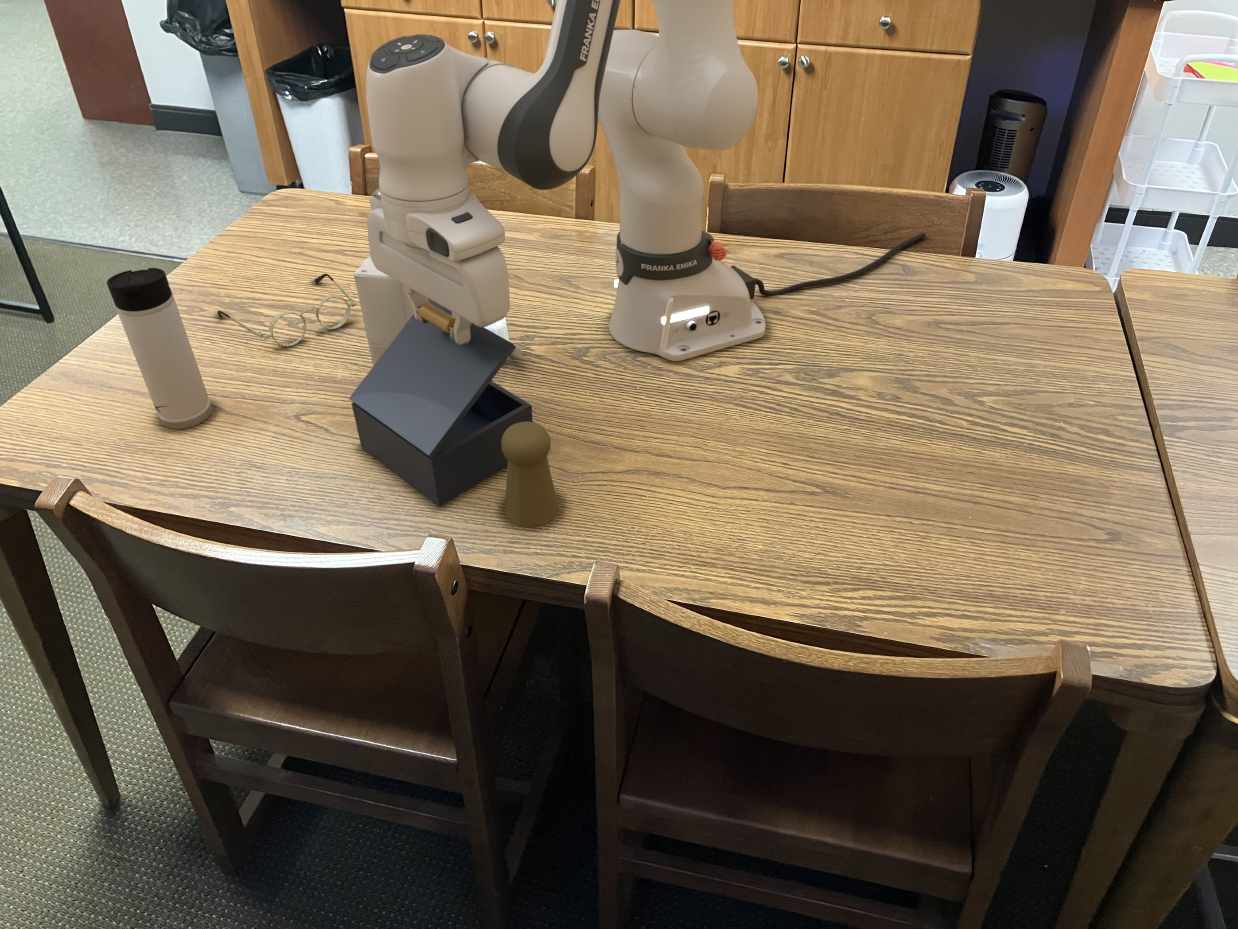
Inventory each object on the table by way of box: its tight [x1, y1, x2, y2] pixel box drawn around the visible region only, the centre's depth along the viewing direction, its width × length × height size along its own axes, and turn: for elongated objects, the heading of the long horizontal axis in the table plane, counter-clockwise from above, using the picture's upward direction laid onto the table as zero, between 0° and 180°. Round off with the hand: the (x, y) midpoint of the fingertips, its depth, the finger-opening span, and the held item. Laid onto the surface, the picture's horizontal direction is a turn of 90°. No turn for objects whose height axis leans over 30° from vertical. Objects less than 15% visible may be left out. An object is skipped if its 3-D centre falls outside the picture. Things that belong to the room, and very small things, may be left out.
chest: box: [351, 380, 534, 508], centre depth 110 cm, size 14×15×7 cm
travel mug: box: [106, 267, 213, 430], centre depth 112 cm, size 6×7×20 cm
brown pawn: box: [501, 421, 559, 528], centre depth 100 cm, size 6×6×11 cm
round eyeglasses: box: [217, 272, 358, 347], centre depth 135 cm, size 17×15×5 cm
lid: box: [348, 298, 517, 459], centre depth 103 cm, size 15×15×5 cm
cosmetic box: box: [353, 256, 414, 367], centre depth 122 cm, size 8×7×16 cm
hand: (442, 330), depth 103 cm, fingers closed on lid, 5 cm apart
